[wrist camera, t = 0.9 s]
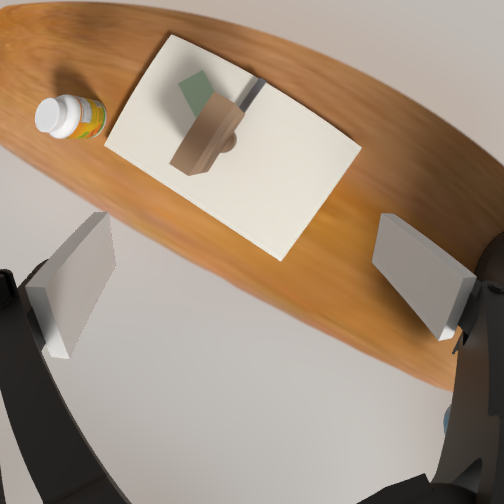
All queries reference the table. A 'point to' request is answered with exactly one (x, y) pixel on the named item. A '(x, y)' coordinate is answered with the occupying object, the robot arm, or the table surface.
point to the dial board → (242, 155)
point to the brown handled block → (212, 132)
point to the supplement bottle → (71, 117)
